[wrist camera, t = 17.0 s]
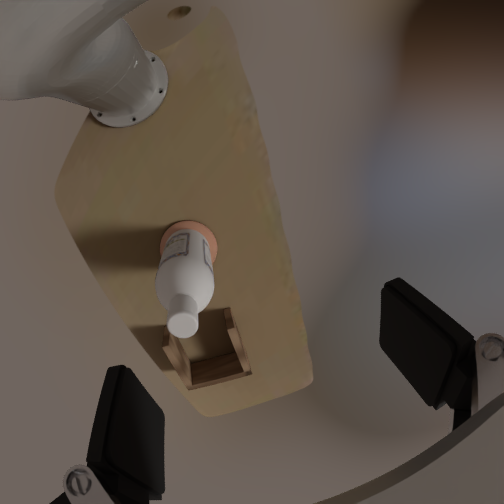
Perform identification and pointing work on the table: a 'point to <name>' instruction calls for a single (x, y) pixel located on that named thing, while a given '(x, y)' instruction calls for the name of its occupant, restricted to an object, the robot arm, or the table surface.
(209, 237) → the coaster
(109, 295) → the table surface
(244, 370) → the shelf bay
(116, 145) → the table surface
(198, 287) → the bath foam
